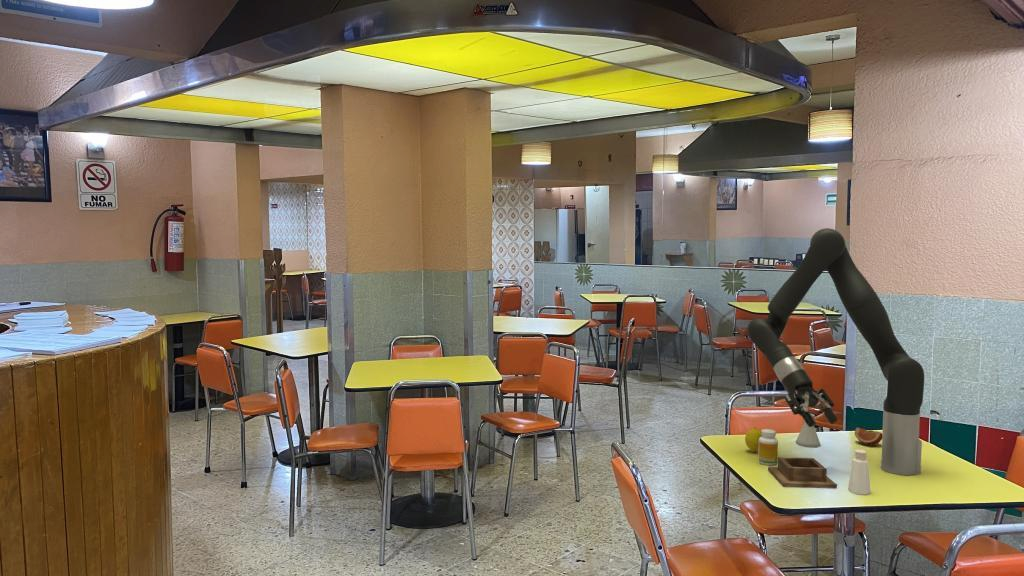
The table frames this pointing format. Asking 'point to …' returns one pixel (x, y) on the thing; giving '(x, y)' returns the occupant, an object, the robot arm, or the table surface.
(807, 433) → the flask
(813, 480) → the socket cup
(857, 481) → the pepper shaker
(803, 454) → the table surface
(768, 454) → the supplement bottle
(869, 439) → the fruit slice
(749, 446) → the fruit
